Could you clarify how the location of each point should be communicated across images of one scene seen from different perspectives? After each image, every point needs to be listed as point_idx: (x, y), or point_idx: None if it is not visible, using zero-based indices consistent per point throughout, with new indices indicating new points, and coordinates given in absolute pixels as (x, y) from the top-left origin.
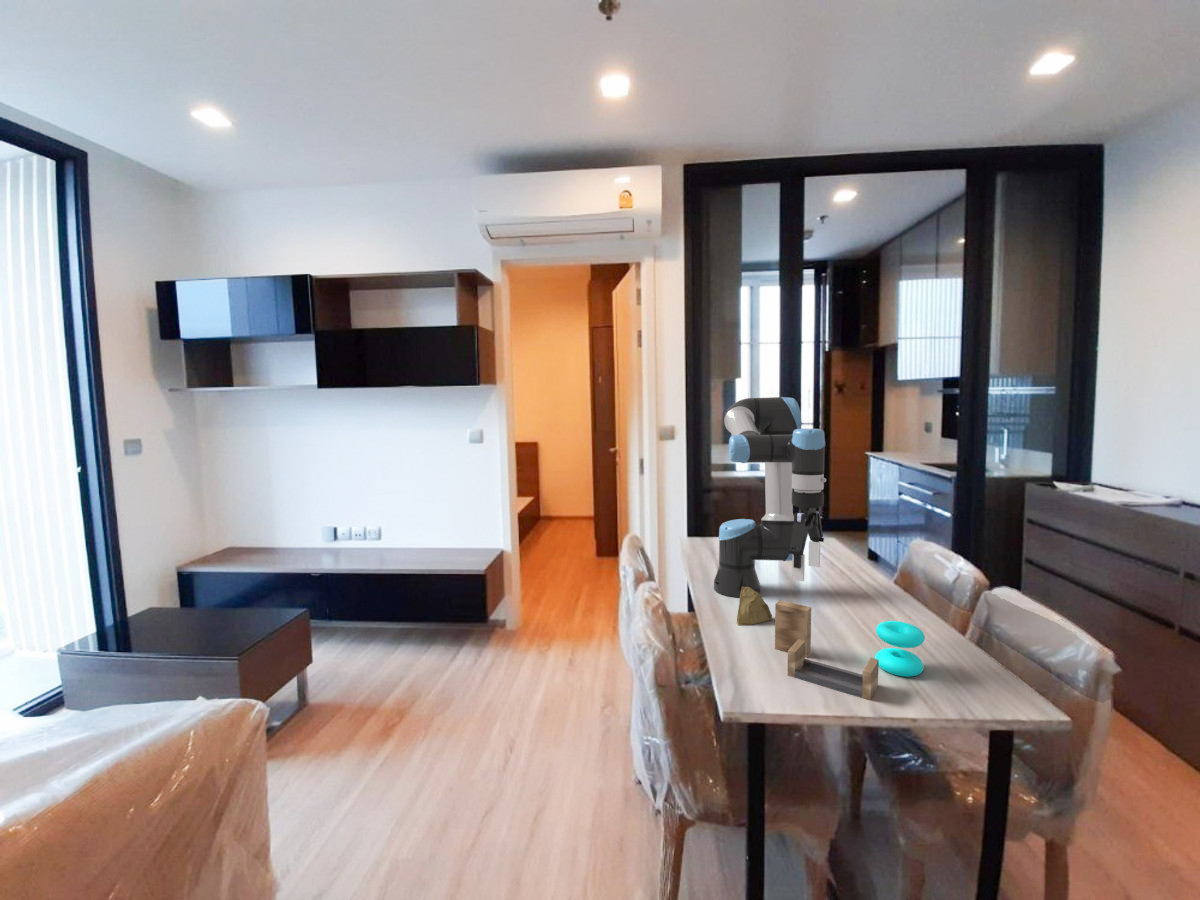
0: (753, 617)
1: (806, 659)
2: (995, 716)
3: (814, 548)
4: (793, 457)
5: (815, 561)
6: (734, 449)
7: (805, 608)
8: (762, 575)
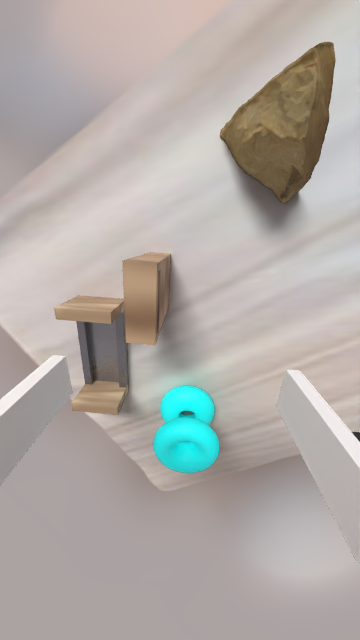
0: (250, 161)
1: (121, 314)
2: (136, 462)
3: (335, 480)
4: None
5: (290, 412)
6: None
7: (138, 335)
8: None
